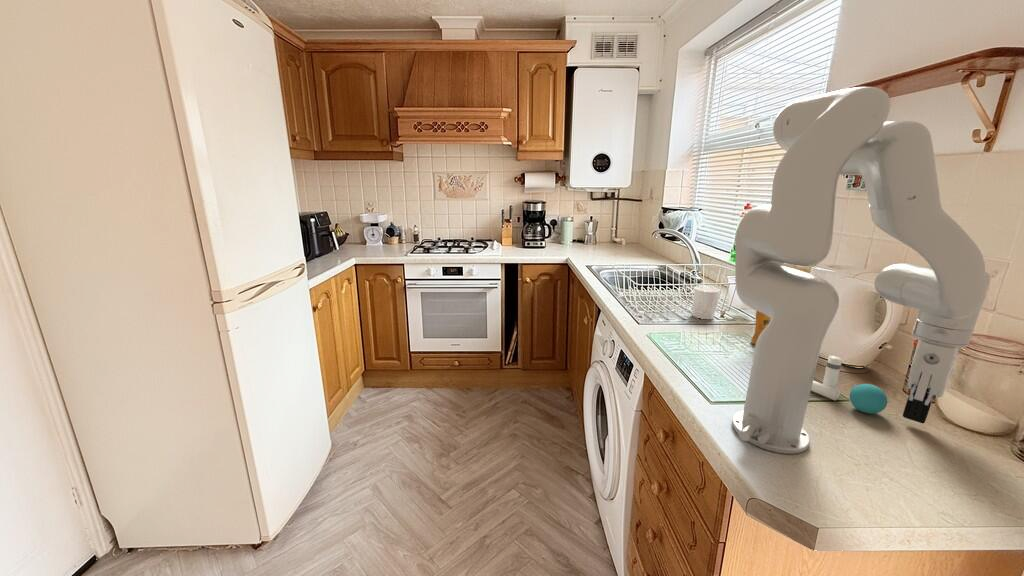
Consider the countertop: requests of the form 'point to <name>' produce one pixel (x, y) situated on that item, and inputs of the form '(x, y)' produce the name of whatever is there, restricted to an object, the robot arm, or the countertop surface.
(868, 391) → the teal egg
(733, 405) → the countertop surface
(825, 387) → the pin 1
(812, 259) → the robot arm
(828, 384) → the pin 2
